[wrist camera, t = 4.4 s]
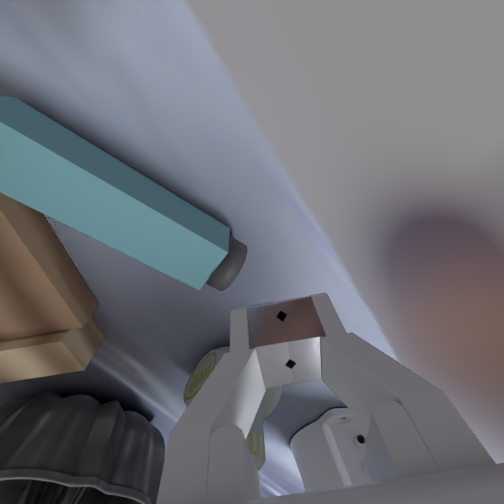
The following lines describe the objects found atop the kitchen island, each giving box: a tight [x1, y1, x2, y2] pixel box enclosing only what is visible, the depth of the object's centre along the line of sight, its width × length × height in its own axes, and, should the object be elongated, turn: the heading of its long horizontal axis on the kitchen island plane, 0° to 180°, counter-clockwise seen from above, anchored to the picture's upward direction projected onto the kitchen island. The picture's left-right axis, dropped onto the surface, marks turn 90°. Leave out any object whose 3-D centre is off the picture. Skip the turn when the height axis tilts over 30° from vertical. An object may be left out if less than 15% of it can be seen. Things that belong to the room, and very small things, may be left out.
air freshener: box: [184, 346, 283, 471], centre depth 26 cm, size 11×8×10 cm
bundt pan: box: [0, 392, 165, 504], centre depth 32 cm, size 26×26×10 cm
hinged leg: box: [0, 96, 247, 291], centre depth 17 cm, size 18×4×5 cm, turn 54°
